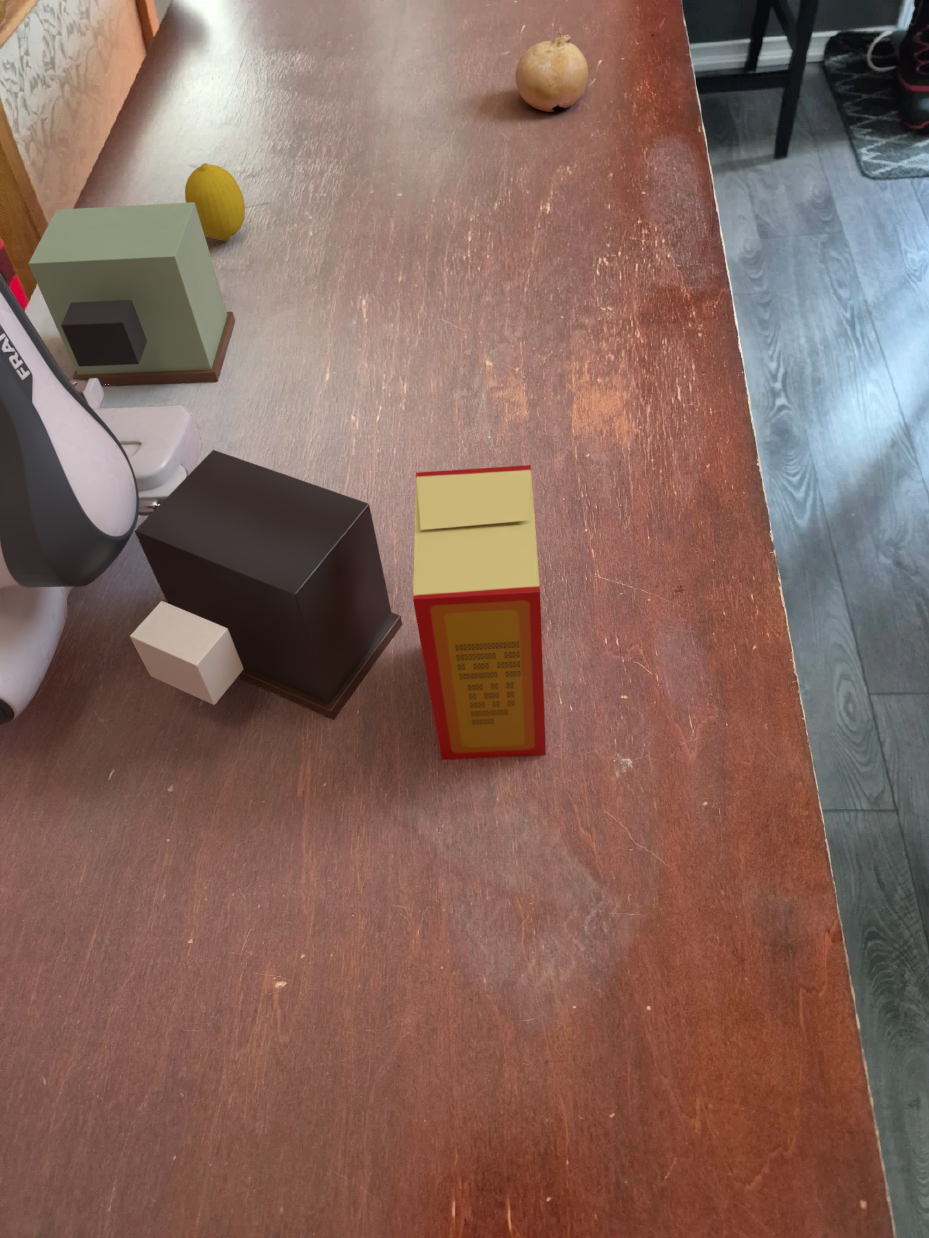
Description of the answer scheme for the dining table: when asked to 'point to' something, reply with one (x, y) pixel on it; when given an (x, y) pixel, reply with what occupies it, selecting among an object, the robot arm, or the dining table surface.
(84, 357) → the dark brown block
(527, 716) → the baking soda box
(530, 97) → the onion
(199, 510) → the black key block
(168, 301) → the green key block
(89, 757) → the dining table surface
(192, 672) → the white rectangular block
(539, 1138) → the dining table surface
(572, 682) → the dining table surface
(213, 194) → the lemon
